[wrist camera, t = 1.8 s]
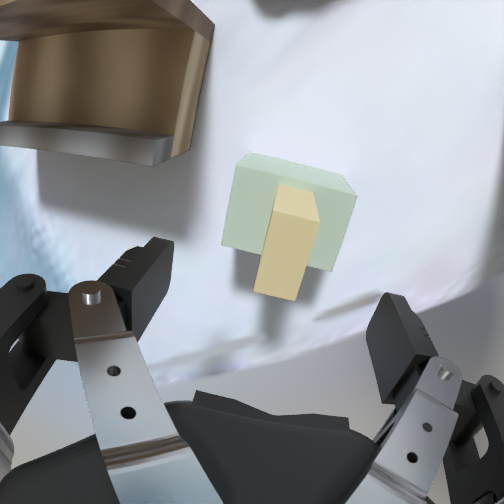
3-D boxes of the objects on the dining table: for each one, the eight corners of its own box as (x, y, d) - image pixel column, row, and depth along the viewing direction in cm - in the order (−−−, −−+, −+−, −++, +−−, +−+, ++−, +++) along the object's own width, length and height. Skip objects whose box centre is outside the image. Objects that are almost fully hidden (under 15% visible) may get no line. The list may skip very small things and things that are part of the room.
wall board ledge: (214, 24, 19) (126, -55, 6) (189, 150, 23) (80, 203, 11) (50, 29, 19) (-70, 20, 7) (36, 130, 24) (-84, 166, 11)
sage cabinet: (342, 174, 23) (378, 226, 13) (324, 235, 25) (341, 320, 15) (249, 151, 23) (215, 185, 13) (236, 214, 25) (199, 287, 15)
